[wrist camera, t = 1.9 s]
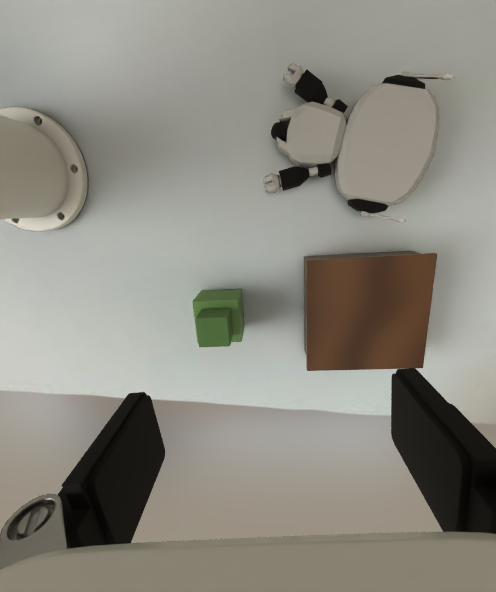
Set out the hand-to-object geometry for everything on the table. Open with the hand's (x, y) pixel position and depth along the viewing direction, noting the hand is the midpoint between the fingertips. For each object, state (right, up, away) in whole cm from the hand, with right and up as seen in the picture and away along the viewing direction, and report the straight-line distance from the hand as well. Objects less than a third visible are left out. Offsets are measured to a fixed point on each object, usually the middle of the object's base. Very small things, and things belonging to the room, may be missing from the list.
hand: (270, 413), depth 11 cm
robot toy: (+9, +20, +19) cm, 29 cm away
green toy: (-4, +3, +25) cm, 25 cm away
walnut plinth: (+12, +4, +23) cm, 27 cm away
